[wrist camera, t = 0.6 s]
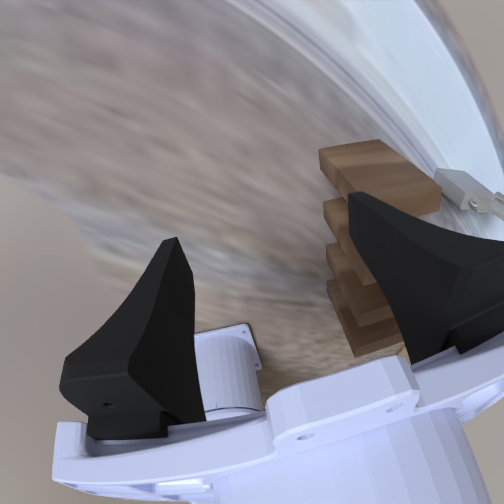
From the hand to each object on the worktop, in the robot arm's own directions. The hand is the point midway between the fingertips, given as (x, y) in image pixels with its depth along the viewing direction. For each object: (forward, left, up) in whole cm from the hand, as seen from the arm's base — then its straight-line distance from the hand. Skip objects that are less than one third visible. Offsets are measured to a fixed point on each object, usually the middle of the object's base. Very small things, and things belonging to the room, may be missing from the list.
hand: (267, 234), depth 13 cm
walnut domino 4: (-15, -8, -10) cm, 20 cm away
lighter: (-6, -20, -10) cm, 23 cm away
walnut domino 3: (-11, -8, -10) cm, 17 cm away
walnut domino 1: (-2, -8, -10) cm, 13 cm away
